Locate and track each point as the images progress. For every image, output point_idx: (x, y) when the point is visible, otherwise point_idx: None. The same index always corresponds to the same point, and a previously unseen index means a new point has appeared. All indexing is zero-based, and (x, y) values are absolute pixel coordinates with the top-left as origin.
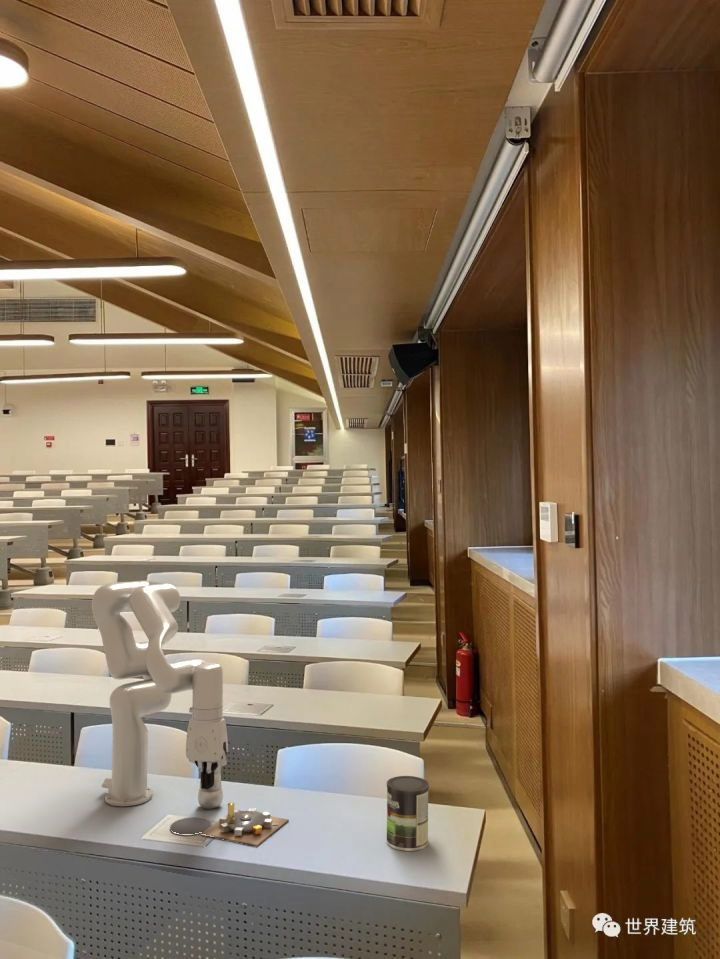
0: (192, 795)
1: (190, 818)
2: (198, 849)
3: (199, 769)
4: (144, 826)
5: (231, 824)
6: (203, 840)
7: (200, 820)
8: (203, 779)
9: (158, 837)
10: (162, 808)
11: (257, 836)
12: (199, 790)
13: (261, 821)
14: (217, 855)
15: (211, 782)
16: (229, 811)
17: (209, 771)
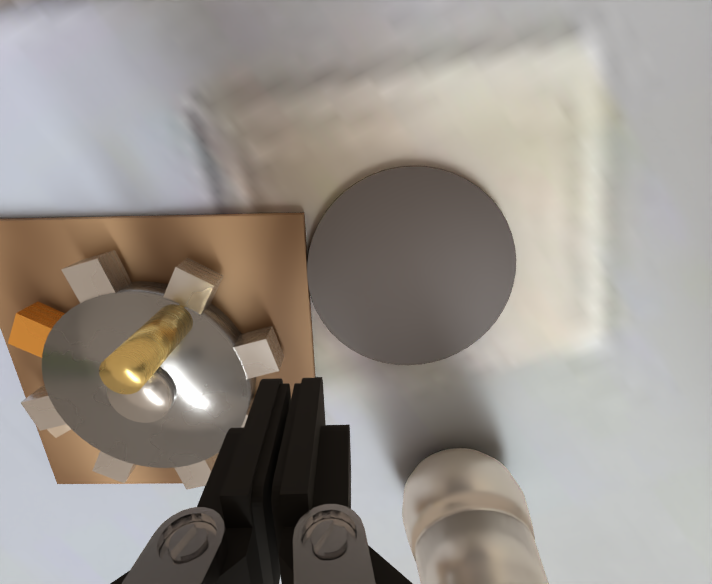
0: (595, 534)
1: (459, 337)
2: (198, 56)
3: (356, 542)
4: (657, 178)
5: (156, 304)
6: (252, 168)
7: (398, 338)
8: (288, 438)
9: (503, 89)
10: (666, 389)
11: (34, 300)
12: (523, 519)
13: (56, 390)
14: (55, 38)
15: (225, 449)
16: (137, 334)
17: (175, 535)
